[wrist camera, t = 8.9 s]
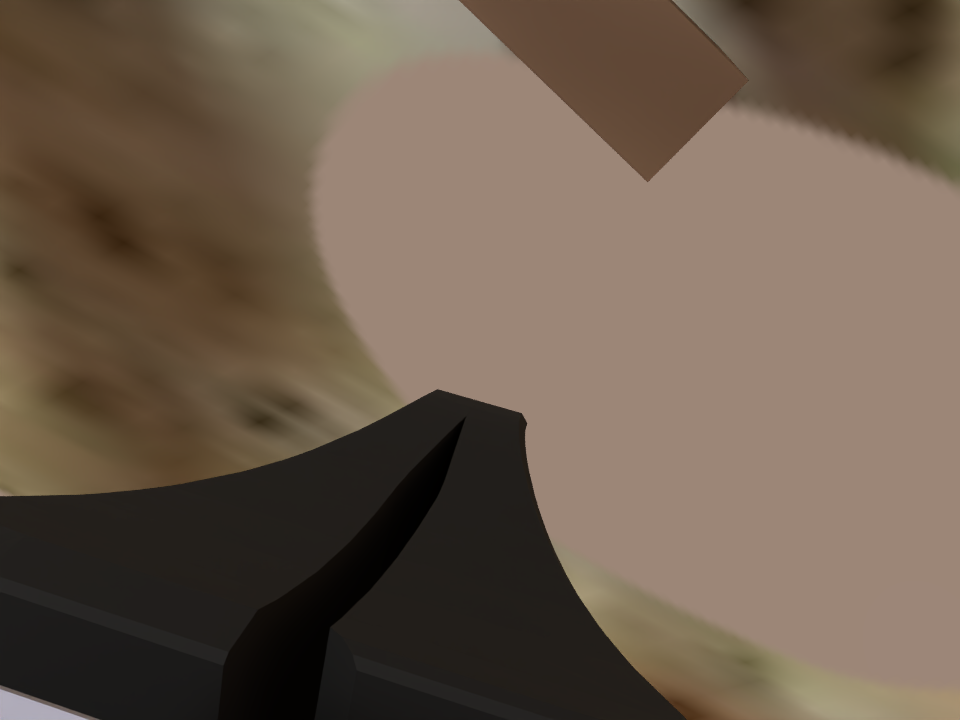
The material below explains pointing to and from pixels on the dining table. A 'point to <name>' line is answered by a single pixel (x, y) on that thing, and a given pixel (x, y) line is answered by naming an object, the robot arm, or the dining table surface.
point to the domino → (621, 68)
